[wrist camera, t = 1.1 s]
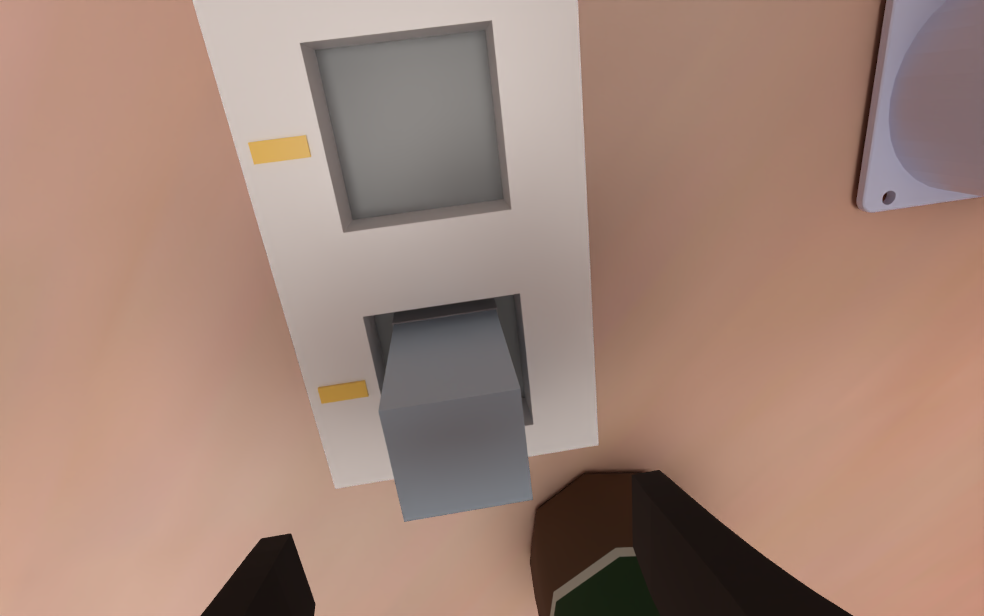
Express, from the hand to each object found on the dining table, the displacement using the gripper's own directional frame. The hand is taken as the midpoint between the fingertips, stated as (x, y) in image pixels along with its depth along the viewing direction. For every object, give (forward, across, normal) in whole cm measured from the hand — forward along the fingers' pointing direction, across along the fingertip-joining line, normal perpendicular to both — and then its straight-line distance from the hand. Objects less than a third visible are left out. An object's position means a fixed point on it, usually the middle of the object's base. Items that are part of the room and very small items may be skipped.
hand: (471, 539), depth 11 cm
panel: (+10, 0, -4) cm, 11 cm away
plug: (+9, 0, 0) cm, 9 cm away
